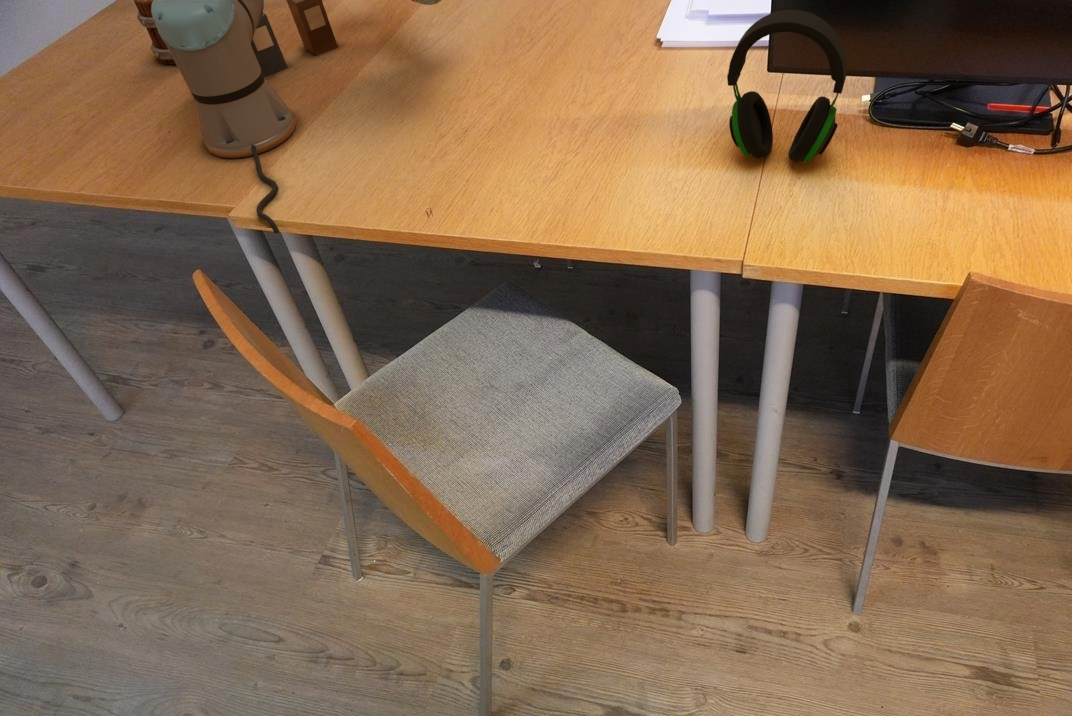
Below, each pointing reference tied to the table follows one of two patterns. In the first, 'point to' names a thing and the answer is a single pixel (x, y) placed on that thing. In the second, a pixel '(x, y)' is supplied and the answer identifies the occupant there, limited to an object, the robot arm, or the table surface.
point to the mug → (153, 31)
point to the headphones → (751, 111)
